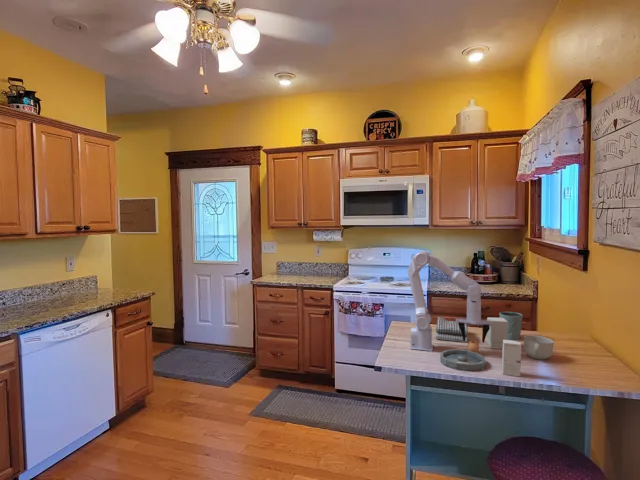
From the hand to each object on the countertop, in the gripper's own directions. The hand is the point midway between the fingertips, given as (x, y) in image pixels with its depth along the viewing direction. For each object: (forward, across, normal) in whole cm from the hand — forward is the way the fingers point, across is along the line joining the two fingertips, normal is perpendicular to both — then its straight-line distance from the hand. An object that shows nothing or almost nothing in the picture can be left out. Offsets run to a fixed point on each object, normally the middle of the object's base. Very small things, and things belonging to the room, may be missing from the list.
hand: (473, 341), depth 161 cm
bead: (+5, 0, 0) cm, 5 cm away
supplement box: (+6, +11, +13) cm, 18 cm away
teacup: (+6, +25, +2) cm, 26 cm away
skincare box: (+6, +12, -19) cm, 23 cm away
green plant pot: (+6, +19, +29) cm, 35 cm away
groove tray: (+5, -5, -13) cm, 15 cm away
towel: (+6, -9, +23) cm, 25 cm away
